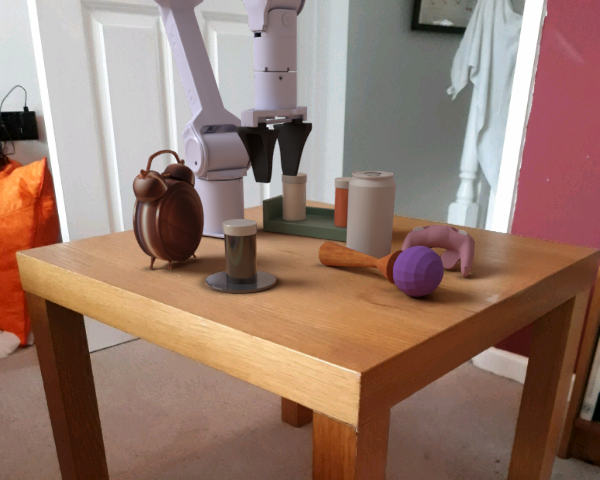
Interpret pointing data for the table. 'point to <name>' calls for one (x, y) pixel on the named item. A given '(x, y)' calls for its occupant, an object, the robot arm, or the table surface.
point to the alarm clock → (167, 212)
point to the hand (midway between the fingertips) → (276, 178)
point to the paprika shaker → (341, 201)
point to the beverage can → (371, 212)
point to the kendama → (392, 266)
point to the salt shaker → (294, 197)
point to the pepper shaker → (240, 250)
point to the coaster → (222, 285)
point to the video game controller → (445, 244)
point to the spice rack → (314, 225)
